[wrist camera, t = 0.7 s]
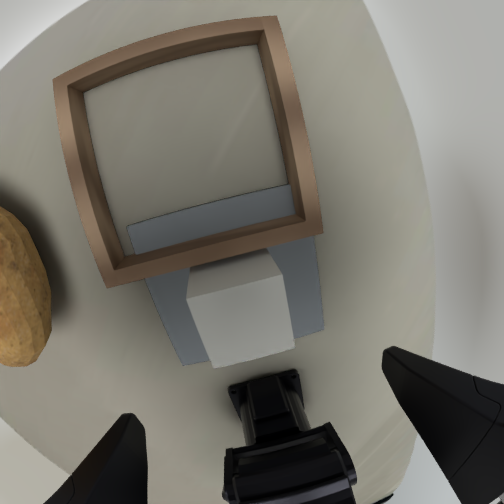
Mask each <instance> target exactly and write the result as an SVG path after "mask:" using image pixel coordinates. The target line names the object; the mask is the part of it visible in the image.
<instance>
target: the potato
mask: <svg viewBox="0 0 504 504" xmlns="http://www.w3.org/2000/svg"><path fill="white" fill-rule="evenodd" d="M51 331H52V327H51V290H50V286H49V282H48V278H47V274H46V270H45V268H44V265H43V263H42V261H41V258H40V256H39V254H38V251H37V249H36V247H35V245H34V243H33V241H32V238H31V236H30V234H29V232H28V230H27V229H26V228H25V226H24V225H23V224H22V223H21V222H20V221H19V220H18V219H17V218H16V217H15V216H14V215H13V214H12V213H10V212H8V211H7V210H5V209H4V208H2V207H1V206H0V363H2V364H4V365H6V366H11V367H21V366H28V365H30V364H32V363H33V362H35V361H36V360H37V358H38V357H39V355H40V354H41V352H42V350H43V349H44V347H45V346H46V343H47V341H48V338H49V336H50V333H51Z"/></svg>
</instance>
